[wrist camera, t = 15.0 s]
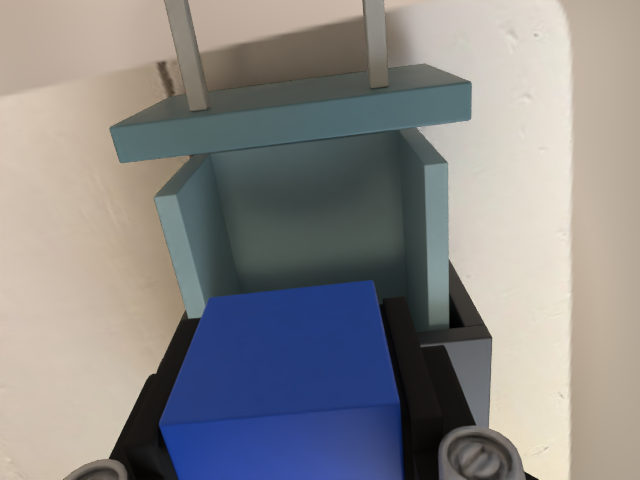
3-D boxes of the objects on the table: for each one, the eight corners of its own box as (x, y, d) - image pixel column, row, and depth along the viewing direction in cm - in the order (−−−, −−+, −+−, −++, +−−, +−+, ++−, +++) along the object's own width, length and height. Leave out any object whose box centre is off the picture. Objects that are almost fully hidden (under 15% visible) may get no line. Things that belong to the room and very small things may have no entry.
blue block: (208, 296, 11) (156, 424, 8) (373, 278, 11) (400, 401, 8) (239, 419, 13) (209, 573, 9) (384, 405, 13) (410, 557, 9)
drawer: (138, -31, 19) (50, -56, 13) (422, -71, 18) (475, -118, 12) (230, 341, 27) (204, 437, 20) (432, 320, 26) (467, 413, 20)
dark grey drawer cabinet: (205, 264, 26) (156, 370, 18) (438, 238, 25) (492, 337, 17) (254, 454, 32) (233, 595, 24) (442, 437, 31) (483, 577, 23)
